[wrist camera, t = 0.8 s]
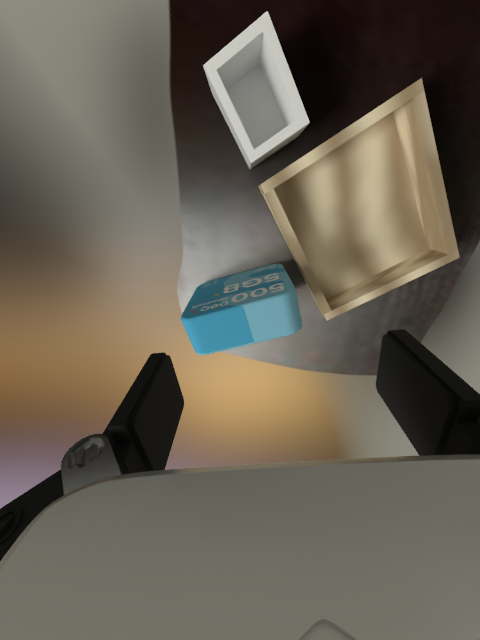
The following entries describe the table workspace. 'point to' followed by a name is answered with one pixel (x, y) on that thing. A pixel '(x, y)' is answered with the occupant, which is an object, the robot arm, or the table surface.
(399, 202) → the wooden tray
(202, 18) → the table surface
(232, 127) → the white open box
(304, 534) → the robot arm
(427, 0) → the table surface
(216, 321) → the data package
